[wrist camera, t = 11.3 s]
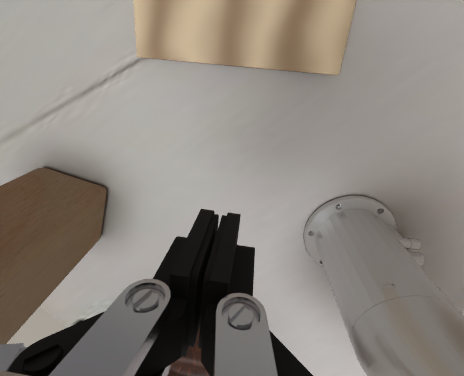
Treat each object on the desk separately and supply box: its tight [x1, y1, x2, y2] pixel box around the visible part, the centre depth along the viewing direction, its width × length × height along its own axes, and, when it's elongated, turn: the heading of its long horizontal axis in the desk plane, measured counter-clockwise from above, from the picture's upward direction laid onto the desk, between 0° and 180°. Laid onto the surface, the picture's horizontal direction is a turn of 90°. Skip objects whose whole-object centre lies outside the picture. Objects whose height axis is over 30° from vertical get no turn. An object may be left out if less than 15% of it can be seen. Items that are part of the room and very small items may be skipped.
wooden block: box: [0, 168, 107, 345], centre depth 30 cm, size 10×10×20 cm
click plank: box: [133, 0, 356, 75], centre depth 26 cm, size 22×10×1 cm, turn 85°
